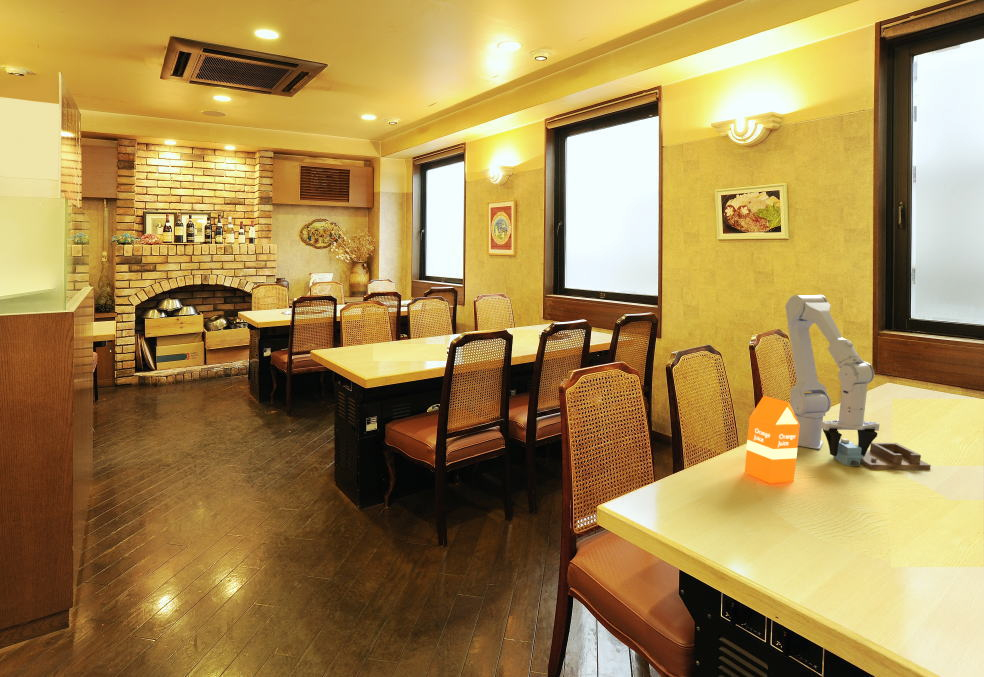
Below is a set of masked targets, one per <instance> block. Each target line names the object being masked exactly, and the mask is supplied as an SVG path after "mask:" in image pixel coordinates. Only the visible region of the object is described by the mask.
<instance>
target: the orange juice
mask: <svg viewBox="0 0 984 677" xmlns="http://www.w3.org/2000/svg"><path fill="white" fill-rule="evenodd" d="M748 418H749V424H748V432H747V440H746V454H745V465H744V473H745V474H748V475H750V476H752V477H754V478H757V479H760V480H761V481H763V482H766V483H769V484H777V483H779V484H780V483H792V482H795V474H796V464H797V456H798V455H797V454H798V447H799V446H798V436H799V426H800V424H799V423H798V421H797V419H796V416H795V414H794V412H793V410H792V408H791V406H790V401H785V400H782V399H777V398H774V397H770V396H766V395H763V396H762V397H761V399H760V401H759V402H758V403H757V405H756V407H755V409H754V410H753V412H752V413H751V415H750V416H749V417H748Z"/></svg>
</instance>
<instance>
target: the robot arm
mask: <svg viewBox="0 0 984 677" xmlns="http://www.w3.org/2000/svg"><path fill="white" fill-rule="evenodd" d="M831 307H832V306H831V304H830V303H829V300H828V299H827V297H826V296H825V295H824V294H815V295H814V294H813V295H812V294H811V295H808V294H807V295H799V294H795V295H791V296H790V297H789V298H788V301H786V303H785V306H784V308H785V313H786V319H787V329H788V335H789V342H790V345H791V346H790V347H791V352H792V358H793V360H792V361H793V366H794V370H795V377H796V378H795V379H796V384H794V386H793V387H792V388H790V400H789V403H790V406H791V408H792V410H793V412H794V414H795V416H796V419H797V421H798V423H799V424H800V426H799V436H798V446H797V447H804V448H807V449H808V448H809V449H814V450H815V449H816V450H821V448H822V446H823V444H824V441H823V440H822V432H823V433H824V435H825V437H826V440H827V444H828V449H829V455H832V456H833V457H834V456H837V453H838V445H839V441H841V439H842V436H843V434H842V433H840V432H839V430H843V431H844V430H845V431H846V430H847V431H849V430H850V431H851V430H853V431H857V439H858V441H857V446H859V447H861V448H862V449H861V455H863V456H864V457H865V454H866V452H867V450H868V449H870V447H871V443H873V442H874V440H875V439H876V438H877V437H878V431H880V423H878V422H877V421H867V420H864V418H865V412H866V402H867V393H868V384H870V383H871V382H873V380H874V378H875V370H874V367H873V365H872V364H871V363H869V362H867V361H865V360H864V359H863V358H861V357H860V355H859V353H858V352H857V350H856V348H855V347H854V344H853V342H852V341H850V339H847V338H844V337H843V336H842V334H841V332H840V330H839V328H838V326H837V324H836V322H835V320H834V318H833V316H832V314H831V312H830V311H831ZM813 324H815V325H816V326H817V327H818V329H819V331H820V332H821V333H822V335H823V336H824V337H825V339H826V340H827V342H828V343H829V346H828V349H827V350H828V351H829V352H828V353H830V356H831V357H832V359H833V361H834V362H835V363H836V365H837V367H838V369H839V371H837V375H838V379H839V382H840V386H839V387H840V389H841V394H840V395H841V396H840V403H839V404H840V405H839V406H840V407H839V414H838V419H837V420H836V419H835V420H827V421H824V417H826V413H828V412H829V411H830V410H831V406H832V400H831V397H830V395H829V394H828V392H827V387H826V386H825V385H824V384H823V383H821V382H820V381H819V378H818V375H817V374H818V373H817V367H816V362H815V357H814V351H813V345H812V340H811V339H812V338H811V334H810V328H811V327H812V325H813Z"/></svg>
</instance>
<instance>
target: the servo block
mask: <svg viewBox="0 0 984 677" xmlns="http://www.w3.org/2000/svg"><path fill="white" fill-rule="evenodd" d="M861 449H862V448H861V447H859V446H858V444H855V443H854V442H852V441H850V439H848V438H840V441H839V445H838V453H837V456H833V458H834V459H835V460H836V461H838V462H840V463H842V464H843V465H845V466H849V467H850V466H851V467H859V466H860V465H861V463H860V458H864V456H863V455H861Z"/></svg>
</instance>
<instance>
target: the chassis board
mask: <svg viewBox="0 0 984 677" xmlns="http://www.w3.org/2000/svg"><path fill="white" fill-rule="evenodd" d="M921 458H922V455H921V454H920V453H918V452H915V451H913V450H911V449H910V448H908V447H906V446H904V445H902V444H900V443H898V442H872V443H871V444H870V446H869V450H867V452H866V454H865V457H864V458H860V465H862V466H864V467H866V468H868V469H869V470H931V468H932V466H931V464H930V463H928V462H925V461H923V460H921Z"/></svg>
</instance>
